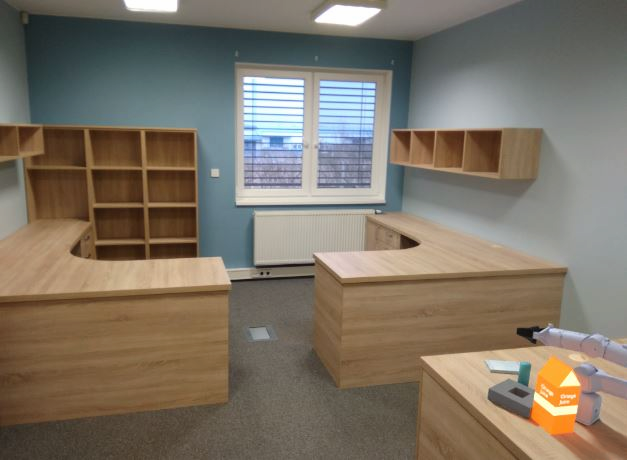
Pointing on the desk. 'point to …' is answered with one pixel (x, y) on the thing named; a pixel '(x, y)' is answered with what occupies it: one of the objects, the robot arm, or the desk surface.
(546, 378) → the orange juice
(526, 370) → the peg
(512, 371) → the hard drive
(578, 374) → the robot arm
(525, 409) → the socket block
